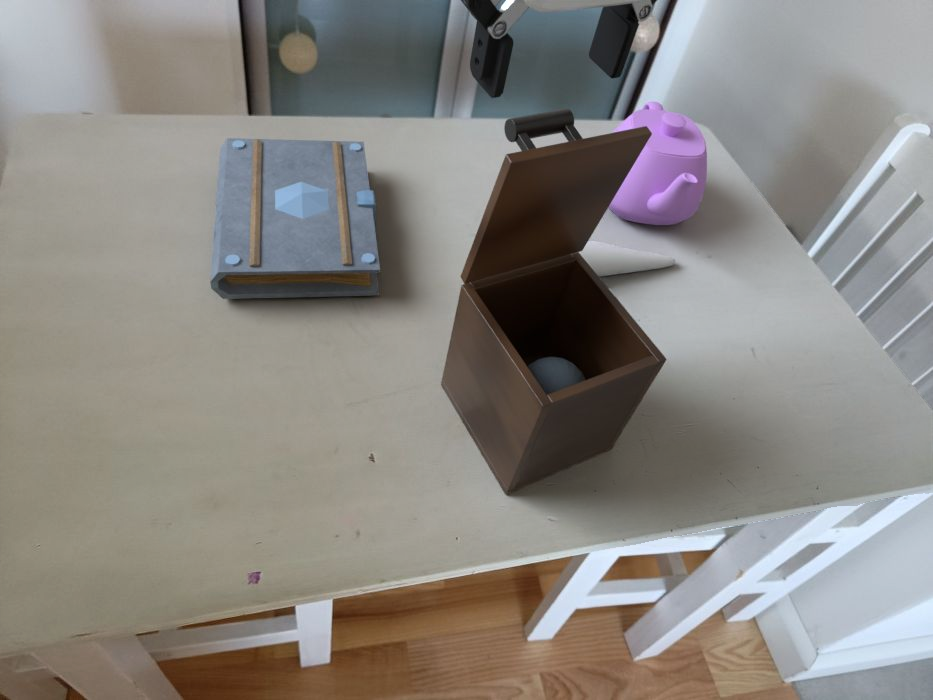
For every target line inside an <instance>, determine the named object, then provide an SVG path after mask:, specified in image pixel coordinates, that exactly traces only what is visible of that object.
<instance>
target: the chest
mask: <svg viewBox="0 0 933 700" xmlns="http://www.w3.org/2000/svg"><path fill="white" fill-rule="evenodd" d="M609 288H610V287H608V286H607V285H606V283H605V282H604V281H603V280H602V279H601V277H600V276H598V275H597V274H596V273H595V271H594V270H593V269H592V268H591V267H590V265H589V264H588V263H587V262H586V261H585V259H584V258H583V257H582V256H581V255H580V253H579V252H577V253H574V254H570V255H566V256H563V257H559V258H555V259H552V260H548V261H545V262H541V263H538V264H534V265H531V266H527V267H523V268H520V269H516V270H513V271H509V272H506V273H502V274H499V275H495V276H491V277H488V278H484V279H481V280H477V281H474V282H470V283H467V284H464V283H463V284H461V286H460V291H459V295H458V299H457V304H456V310H455V315H454V319H453V325H452V328H451V334H450V339H449V344H448V349H447V354H446V358H445V363H444V367H443V368H444V369H443V373H442V378H441V380H440V381H441V382H440V386H441V388H442V390H443V391H444V393H445V395H446V396H447V398H448V399H449V401H450V403H451V405H452V407H453V408H454V409H455V412H456V413H457V414H458V417H459V418H460V420H461V422H462V423H463V426H464V427H465V428H466V430H467V432H468V433H469V436H470V437H471V439H472V440H473V442H474V444H475V446H476V447H477V449H478V450H479V452H480V454H481V456H482V457H483V459H484V461H485V463H486V464H487V466H488V468H489V469H490V471H491V473H492V474H493V476H494V477H495V480H496V481H497V483H498V484H499V486H500V488H501V490H502V491H503V493H504V495H505V496H508V495H509V494H513V493H514V492H517V491H519V490H522V489H523V488H525V487H528V486H530V485H533V484H535V483H537V482H540V481H542V480H544V479H547V478H549V477H551V476H554V475H555V474H559V473H561V472H563V471H565V470H568V469H570V468H573V467H575V466H577V465H579V464H581V463H583V462H586V461H588V460H591V459H593V458H596V457H597V456H600V455H602V454H605V453H606V452H608V451H609V452H610V451H611V450H612V449H613V448H614V447H615V444H616V443H617V441H618V440H619V438H620V437H621V435H622V434H623V431H624V430H625V428H626V427H627V425H628V424H629V421H630V420H631V418H632V417H633V415H634V414H635V412H636V410H637V409H638V407H639V405H640V404H641V403H642V400H643V399H644V397H645V395H646V394H647V393H648V391H649V389H650V387H651V386H652V385H653V382H654V380H656V377H657V376H658V374H659V373H660V371H661V370H662V368H663V366H664V365H665V363H666V361H667V358H666V356H665V355H664V354H663V353H662V352H661V350H660V349H659V348H658V346H657V345H656V344H655V343H654V342H653V341H652V339H651V338H650V337H649V336H648V334H646V331H644V329H643V328H642V327H641V326H640V324H639V323H637V320H635V319H634V317H633V316H632V315H631V313H629V311H628V310H627V309H626V308H625V306H624V305H623V304H622V303H621V302H620V300H619V299H618V298H617V296H615V294H614V293H613V292H612V291H611V289H609ZM546 357H558V358H563V359H565V360H567V361H569V362H571V363H573V364H574V365H575V366H576V367H577V368H578V369H579V370H580V371H581V372H582V374H583V376H584V377H585V379H586V380H585V381H583V382H580V383H577V384H575V385H572V386H569V387H567V388H564V389H561V390H559V391H556V392H553V393H551V394H548V395H546V393H545V392H544V390H543V389H542V388H541V386H540V385H539V383H538V382H537V380H536V379H535V377H534V376H533V374H532V373H531V371H530V370H529V368H528V367H527V366H528V365H529V364H531V363H533V362H534V361H536V360H538V359H541V358H546Z"/></svg>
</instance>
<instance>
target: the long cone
mask: <svg viewBox="0 0 933 700" xmlns="http://www.w3.org/2000/svg"><path fill="white" fill-rule="evenodd" d="M579 253H580V255H581V256H582V257H583V258H584V259H585V261H586V262H587V263H588V264H589V265H590V267H591V268H592V269H593V270H594V271H595V273H596V274H597V275H598V276H599V277H606V276H614V275H620V274H627V273H629V274H630V273H634V272H635V273H637V272H643V271H649V270H657V269H664V268H667V267H671V266H673V265H675V264H676V259H675V258H674V257H673V256H671V255H667V254H663V253H658V252H651V251H646V250H641V249H635V248H628V247H624V246H619V245H616V244H612V243H607V242H601V241H595V240H590V239H589V240H588V242H587V244H586V245H585V247H584V249H583V250H582V251H580V252H579ZM573 254H574V253H573Z"/></svg>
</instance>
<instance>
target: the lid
mask: <svg viewBox="0 0 933 700" xmlns="http://www.w3.org/2000/svg"><path fill="white" fill-rule="evenodd" d="M574 117H575V116H574V113H573V112H572V110H571V109H570V108H561V109H556V110H550V111H544V112H539V113H533V114H528V115H522V116H517V117H511V118H508V119H506V120H505V123H504V129H503V131H504V135H505V137H506V139H507V141H508V142H510V143H516V145H517V147H518V148H519V149H520V151H515V152H510V153H506V154H505V155H504V159H503V161H502V164H501V167H500V169H499V172H498V174H497V177H496V180H495V182H494V185H493V188H492V191H491V194H490V196H489V199H488V202H487V204H486V207H485V209H484V212H483V215H482V217H481V220H480V223H479V226H478V228H477V230H476V234H475V236H474V240H473V242H472V244H471V247H470V250H469V252H468V254H467V258H466V260H465V263H464V265H463V269H462V272H461V274H460V279H461V280H462V282H463V284H467V283H470V282H474V281H477V280H481V279H484V278H488V277H491V276H495V275H499V274H502V273H506V272H509V271H513V270H516V269H520V268H523V267H527V266H531V265H534V264H538V263H541V262H545V261H548V260H552V259H555V258H559V257H563V256H566V255H570V254H573V253H577V252H580V251H582V250H583V249H584V247H585V245H586V244H587V242H588V240H590V239H591V237H592V235H593V234H594V232H595V230H596V228H597V227H598V225H599V224H600V222H601V220H602V218H603V217H604V215H605V213H606V212H607V210H608V209H609V205H610V204H611V202H612V200H613V199H614V197H615V195H616V193H617V192H618V190H619V188H620V187H621V185H622V183H623V182H624V180H625V178H626V177H627V175H628V173H629V172H630V170H631V168H632V167H633V165H634V163H635V162H636V160H637V158H638V157H639V155H640V153H641V152H642V150H643V148H644V147H645V145H646V143H647V142H648V140H649V138H650V137H651V135H652V133H651V131H650V130H649V129H648V127H647V126H644V127H639V128H634V129H629V130H624V131H619V132H614V133H613V132H610V133H605V134H600V135H594V136H590V137H582V135H581V133H580V132H579V131H578V129H577V128H576V127H575V118H574ZM557 134H562V135H563V136H564V137H565V139H566V140H567V141H565V142H560V143H555V144H549V145H544V146H540V147H536V145H535V144H534V142H533V140H532V139H536V138H542V137H547V136H552V135H557Z"/></svg>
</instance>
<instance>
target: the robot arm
mask: <svg viewBox="0 0 933 700" xmlns="http://www.w3.org/2000/svg"><path fill="white" fill-rule="evenodd" d="M460 1H461V3H462V4H463V5H464V6H465V8H466V9H467V10H468V11H469V13H470V15H471V16H472V17H473V18H474V20H475V21H476V24H475V29H474V35H473V42H472V48H471V55H470V59H469V70H470V73H471V76H472V77H473V79H474V80H475V81H476V82H477V84H479V86H480V87H481V88H482V89H483V90H484V91H485V93H486V94H487V95H488V96H489V97H490V98H491V99H496V98H500V97H501V96H502V95H503V94H504V91H505V86H506V80H507V76H508V72H509V67H510V63H511V57H512V53H513V47H514V39H513V37H512V36H511V35H510V34H509V32H510V31H511V29H512V28H513V27H514V26H515V25H516V23H517V22H518V21H519V20H520V19H521V18H522V17H523V15H524V14H525V13H527V11H528V10H529V8H530V9H531V10H533V11H535V12H539V13H558V12H559V13H560V12H568V11H569V12H570V11H578V10H579V11H580V10H587V9H597V8H602V9H601V12H600V15H599V18H598V22H597V25H596V28H595V31H594V35H593V38H592V42H591V46H590V48H589V50H588V57H589V59H590V60H591V61H592V62H593V63H594V64H595V65H596V66H598V68H600V69H601V71H603V73H605V74H606V75H607V76H608V77H609V78H610V79H618V78H620V77H621V76H622V73H623V71H624V69H625V66H626V62H627V60H628V57H629V54H630V51H631V48H632V46H633V43H634V40H635V37H636V34H637V32H638V29H639V26H640V23H639V22H644V21H646V20H648V18H649V17H650V16H651V14H652V13H653V9H654V7H653V5H654V4H655V3H656V2H657V1H658V0H505V1H504V2H503V4H502V5H500V8H497V6H498V5H499V3H501V1H502V0H460Z"/></svg>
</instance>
